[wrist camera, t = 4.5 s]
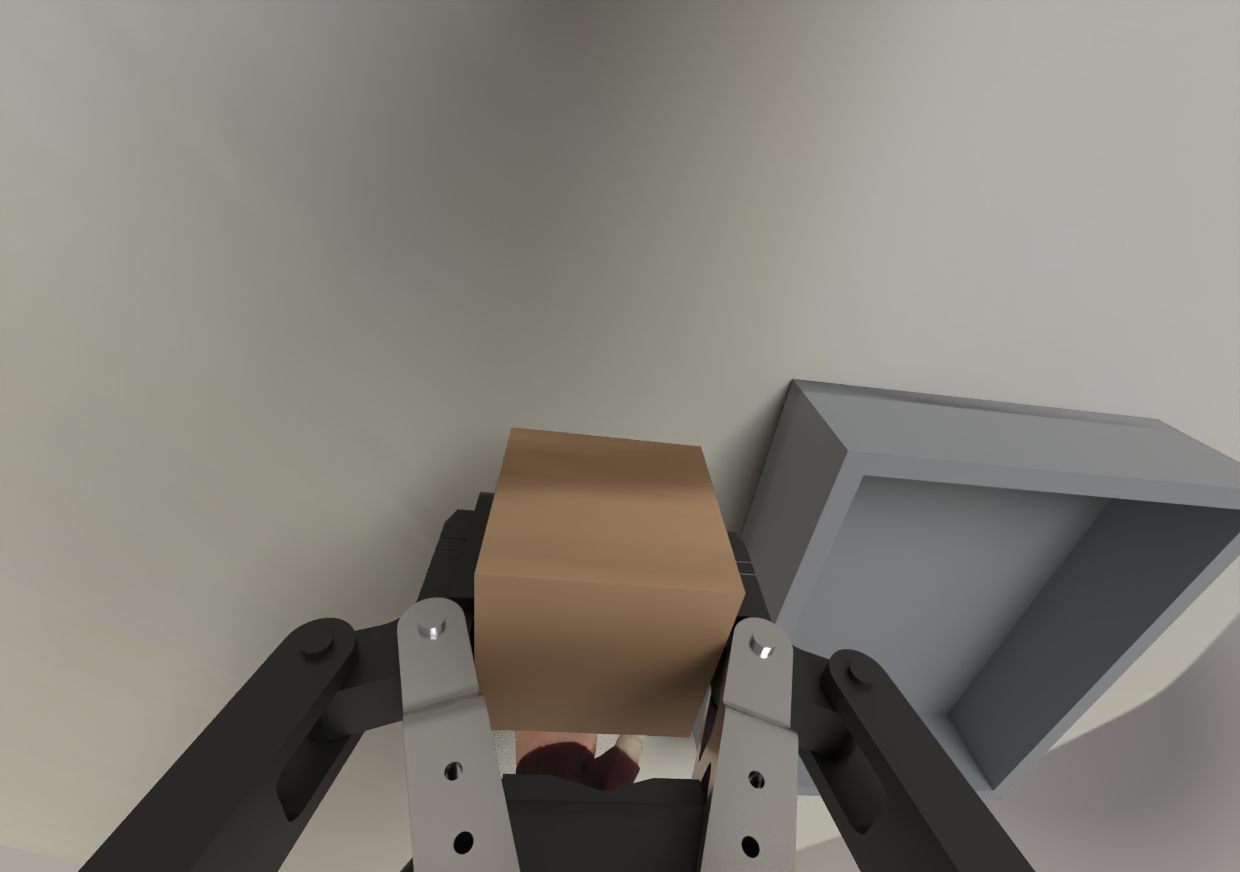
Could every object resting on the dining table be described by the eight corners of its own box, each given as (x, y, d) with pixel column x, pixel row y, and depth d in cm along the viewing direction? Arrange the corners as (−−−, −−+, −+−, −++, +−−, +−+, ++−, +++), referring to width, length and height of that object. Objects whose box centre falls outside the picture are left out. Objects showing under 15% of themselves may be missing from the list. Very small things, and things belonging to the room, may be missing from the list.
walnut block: (511, 427, 14) (474, 574, 9) (700, 446, 14) (745, 593, 10) (505, 565, 16) (474, 728, 12) (665, 576, 17) (689, 736, 13)
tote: (792, 378, 20) (848, 450, 16) (1157, 419, 22) (1299, 494, 17) (687, 695, 30) (703, 793, 25) (944, 706, 31) (999, 799, 27)
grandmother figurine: (526, 678, 28) (485, 1027, 17) (481, 639, 27) (404, 1000, 16) (652, 624, 27) (694, 974, 16) (612, 578, 25) (628, 936, 14)
